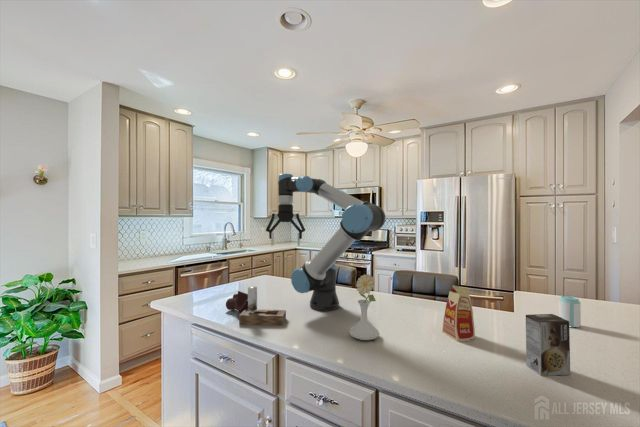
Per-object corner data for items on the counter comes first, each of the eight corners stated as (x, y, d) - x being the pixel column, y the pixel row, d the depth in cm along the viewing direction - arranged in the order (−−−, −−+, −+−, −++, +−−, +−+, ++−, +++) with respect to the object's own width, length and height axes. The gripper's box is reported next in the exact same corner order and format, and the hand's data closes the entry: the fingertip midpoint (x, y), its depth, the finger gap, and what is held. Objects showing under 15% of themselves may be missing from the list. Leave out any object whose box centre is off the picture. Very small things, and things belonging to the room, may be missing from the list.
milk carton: (457, 341, 109) (457, 288, 109) (441, 332, 118) (440, 282, 118) (477, 338, 112) (477, 286, 112) (459, 329, 120) (459, 281, 121)
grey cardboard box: (553, 364, 92) (552, 313, 93) (571, 375, 86) (570, 320, 86) (524, 365, 92) (524, 313, 92) (541, 376, 86) (540, 321, 86)
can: (557, 321, 130) (557, 294, 130) (578, 324, 126) (578, 296, 127) (560, 326, 124) (560, 298, 124) (582, 329, 120) (582, 300, 120)
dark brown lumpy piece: (245, 311, 132) (250, 289, 137) (222, 313, 141) (228, 292, 146) (255, 314, 136) (259, 292, 141) (233, 315, 146) (237, 295, 150)
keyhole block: (285, 318, 133) (285, 309, 133) (282, 325, 125) (282, 316, 125) (244, 318, 134) (244, 309, 134) (239, 324, 126) (239, 315, 126)
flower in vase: (344, 333, 117) (344, 270, 117) (369, 329, 121) (369, 269, 121) (360, 347, 104) (360, 277, 105) (387, 342, 108) (387, 275, 109)
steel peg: (258, 317, 132) (258, 286, 132) (255, 320, 128) (255, 288, 128) (249, 317, 132) (249, 286, 132) (246, 320, 128) (246, 288, 128)
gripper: (310, 204, 154) (310, 244, 154) (263, 204, 155) (263, 244, 155) (309, 203, 146) (309, 246, 146) (259, 203, 147) (259, 245, 147)
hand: (285, 245), depth 151 cm, fingers open, 13 cm apart
